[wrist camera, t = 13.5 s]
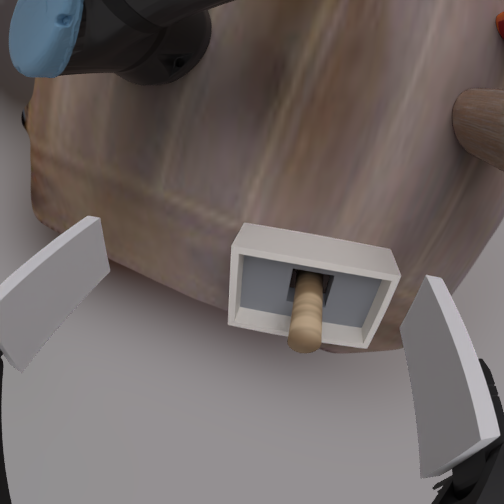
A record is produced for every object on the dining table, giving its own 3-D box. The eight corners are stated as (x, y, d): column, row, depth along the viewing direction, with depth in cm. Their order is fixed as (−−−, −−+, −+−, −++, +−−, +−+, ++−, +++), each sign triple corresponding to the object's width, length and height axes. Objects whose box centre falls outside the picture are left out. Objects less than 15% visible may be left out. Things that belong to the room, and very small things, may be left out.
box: (238, 296, 49) (227, 324, 43) (244, 222, 42) (231, 245, 36) (363, 318, 46) (367, 348, 40) (390, 249, 39) (401, 275, 33)
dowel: (299, 262, 43) (290, 328, 31) (325, 266, 43) (325, 333, 31) (295, 283, 45) (284, 350, 33) (319, 287, 45) (316, 355, 33)
